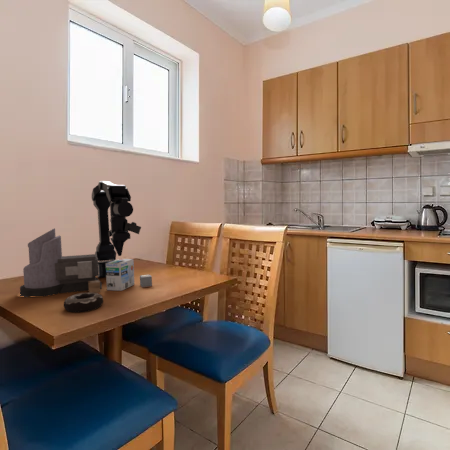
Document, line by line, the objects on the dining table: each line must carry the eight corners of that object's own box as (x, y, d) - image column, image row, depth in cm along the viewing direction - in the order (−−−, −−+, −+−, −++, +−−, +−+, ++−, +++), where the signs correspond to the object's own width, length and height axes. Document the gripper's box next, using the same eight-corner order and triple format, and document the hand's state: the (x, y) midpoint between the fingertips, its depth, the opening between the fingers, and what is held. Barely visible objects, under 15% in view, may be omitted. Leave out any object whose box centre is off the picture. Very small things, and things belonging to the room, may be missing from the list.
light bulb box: (122, 291, 122) (120, 263, 122) (106, 290, 124) (104, 263, 123) (135, 284, 133) (134, 258, 132) (120, 283, 134) (119, 258, 133)
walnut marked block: (88, 291, 123) (88, 280, 123) (99, 290, 125) (99, 279, 125) (88, 294, 120) (88, 283, 119) (100, 292, 121) (99, 281, 121)
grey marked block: (140, 285, 131) (139, 275, 131) (150, 284, 133) (149, 274, 133) (142, 287, 128) (141, 277, 127) (152, 286, 129) (151, 276, 129)
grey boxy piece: (11, 300, 114) (6, 231, 112) (22, 289, 129) (18, 228, 127) (101, 290, 124) (98, 227, 123) (102, 281, 139) (99, 225, 138)
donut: (95, 300, 112) (95, 289, 111) (109, 308, 103) (108, 295, 103) (59, 308, 104) (58, 295, 104) (70, 317, 95) (69, 303, 95)
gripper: (143, 216, 121) (144, 257, 122) (135, 215, 138) (136, 251, 139) (112, 217, 117) (114, 259, 118) (107, 216, 134) (109, 253, 135)
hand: (119, 255), depth 127 cm, fingers closed
